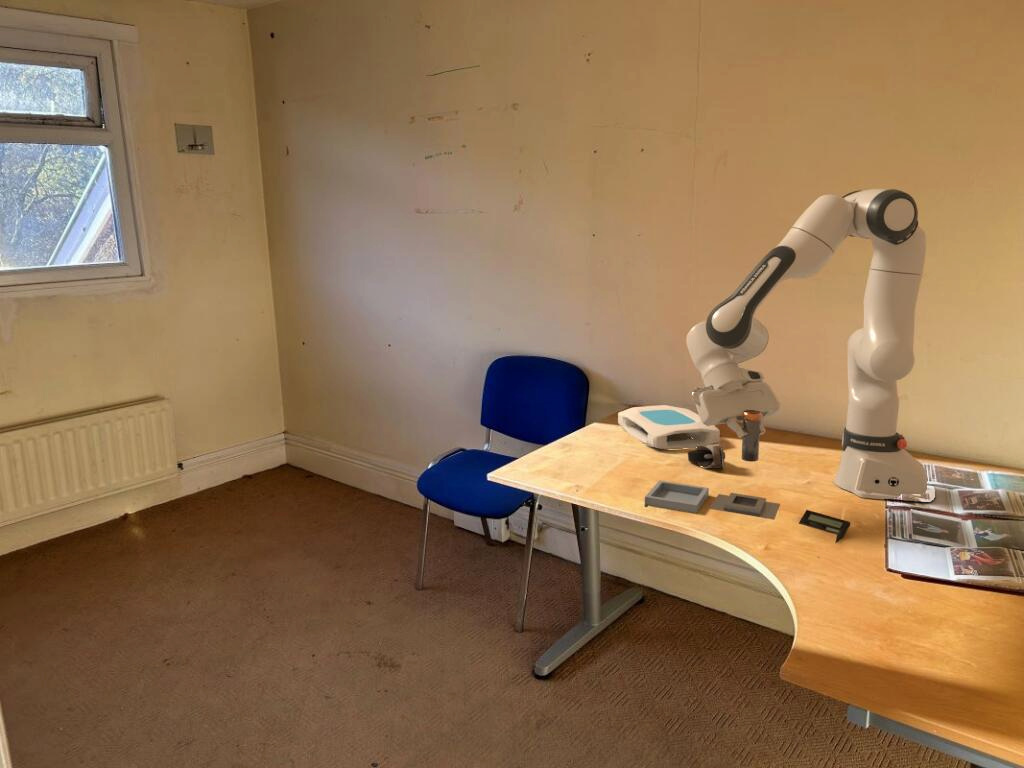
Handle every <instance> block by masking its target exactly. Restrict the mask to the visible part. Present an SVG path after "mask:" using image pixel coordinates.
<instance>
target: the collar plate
mask: <svg viewBox="0 0 1024 768" xmlns="http://www.w3.org/2000/svg"><path fill="white" fill-rule="evenodd" d="M780 506H781V503H777V502H772V501H767V497H760V496H755V495H749V494H748V495H747V494H743V493H742V494H741V493H734V492H730V494H729V495H726V494H720V493H719V494H717V496H716V497H715V499H714V501H713V502H712V504H711V505H710V506H709V510H715V511H720V512H726V513H733V514H737V515H745V516H751V517H754V518H755V517H757V518H763V519H768V520H769V519H770V520H775V517H776V516H777V515H776V514H777V512H778V510H779V507H780Z"/></svg>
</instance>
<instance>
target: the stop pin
mask: <svg viewBox="0 0 1024 768" xmlns="http://www.w3.org/2000/svg"><path fill="white" fill-rule="evenodd" d="M760 420H761V412H760V411H757V410H745V411H743V420H742V421H743V422H742V428H746V431H747V432H748V435H747V436H746V437H744V438H741V440H742V442H741V443H742V444H741V460H743V461H745V462H750V463H751V462H758V461H759V453H760V452H759V450H760Z"/></svg>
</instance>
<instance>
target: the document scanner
mask: <svg viewBox="0 0 1024 768" xmlns="http://www.w3.org/2000/svg"><path fill="white" fill-rule="evenodd" d="M617 416H618V417H617V423H618V424H619V426H620V427H621V429H623V431H624V432H625V433H626V432H627V433H626V434H628V435H629V434H630V435H631V437H632V436H633V437H634V438H633V437H632V438H633V439H635V438H636V439H637V440H636V439H635V440H636V441H638V440H639V441H640V442H642V443H643V444H646V445H647V446H646V445H645V446H646V447H650V448H654V447H655V448H656V449H659V450H663V449H664V450H665V451H669V450H668V449H683V448H694V449H697V448H696V447H697V446H699V445H713V444H718V443H719V442H720V435H721V434H720V433H721V430H720V429H719V428H718V427H717V426H716V425H711V426H706V425H705V424H703V423H702V421H701V419H700V416H699V414H698V413H696V412H694V411H692V410H690V409H688V408H684V407H677V406H673V405H668V404H660V405H646V406H636V407H635V406H634V407H631V408H630V407H629V408H627V409H625V410H622V411H619V412H618V413H617ZM640 429H642V430H640ZM643 430H644V431H643ZM684 433H686V434H687V435H686V434H685V435H686V436H688V435H689V436H690V437H689V436H688V437H689V439H684V440H668V436H669V437H670V436H672V435H675V434H676V435H677V434H684ZM630 435H629V436H630ZM691 437H692V438H693V439H692V438H691ZM639 441H638V442H639ZM640 442H639V443H640ZM642 443H641V444H642ZM643 444H642V445H643ZM683 450H684V449H683Z"/></svg>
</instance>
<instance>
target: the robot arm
mask: <svg viewBox="0 0 1024 768" xmlns="http://www.w3.org/2000/svg"><path fill="white" fill-rule="evenodd" d="M918 218H919V211H918V206H917V202H916V201H915V199H914V198H913V196H912V195H910V194H909V193H907V192H905V191H903V190H900V189H895V188H894V189H893V188H892V189H891V188H890V189H887V188H886V189H885V188H870V189H865V190H855V191H851V192H849V193H846V194H845V195H843V196H840V195H836V194H824V195H821V196H819V197H818V198H817V199H815V200H814V201H813V202H812V203H811V204H810V205H809V206H808V207H807V208H806V209H805V210H804V211H803V213H801V215H800V216H799V217H798V218H797V220H796V221H795V222H794V224H793V225H792V226H791V228H790V229H789V230H788V232H787V233H786V235H785V236H784V237H783V239H782V240H781V241H780V242H779V243H778V244H777V245H776V246H775V247H774V248H772V249H771V250H770V251H768V252H767V253H766V254H765V256H764V257H763V258H761V259H760V261H759V262H758V263H757V264H756V266H755V267H754V268H753V269H752V270H751V271H750V273H749V274H748V275H747V276H746V277H745V278H744V280H743V281H742V282H741V284H739V286H738V287H737V288H736V289H735V290H734V291H733V293H731V295H729V296H728V297H727V298H726V299H724V300H723V301H721V302H720V303H719V304H717V305H716V306H715V307H713V309H712V310H711V311H710V312H709V314H708V316H707V318H706V320H704V321H701V322H698V323H697V324H695V325H694V326H693V327H691V329H690V330H689V331H688V333H687V334H686V339H685V344H686V347H687V350H688V353H689V356H690V358H691V360H692V362H693V364H694V367H695V368H696V370H698V372H700V375H701V379H702V382H703V384H704V386H703V387H695V388H694V390H692V391H691V398H692V400H693V402H694V404H695V406H696V411H697V414H698V415H699V416H700V419H701V421H702V423H703V424H705V425H706V426H711V425H715V426H716V425H722V424H723V425H724V424H726V425H727V427H728V428H729V429H730V430H732V431H733V432H734V433H735V434H736V435H737V437H738V439H742V438H744V437H746V436H747V435H748V432H747V431H746V428H743V426H741V425H740V423H738V422H741V421H743V411H745V410H757V411H760V412H761V420H760V435H764V434H765V433H766V432H767V431H766V428H765V427H764V418H765V417H766V418H768V417H772V416H774V415H775V414H776V413H777V412H778V411H779V410H780V406H781V404H780V402H779V399H778V398H777V395H776V394H775V392H774V391H773V389H772V387H771V386H770V385H769V384H768V383H766V382H765V381H764V380H765V376H764V374H763V373H762V372H760V371H757V370H752V369H751V370H749V369H747V368H743V367H740V366H739V364H741V363H744V362H746V361H748V360H752V359H753V358H755V357H757V356H759V355H760V354H762V353H763V352H764V350H766V348H767V345H768V343H769V338H770V337H769V331H768V329H767V327H766V326H765V325H764V324H763V323H762V322H761V321H759V320H758V318H756V317H755V314H756V312H757V310H758V309H759V307H760V306H761V305H762V304H763V303H764V301H766V299H767V298H768V296H770V294H771V293H772V292H773V291H774V290H775V289H776V287H778V285H780V284H781V283H782V282H783V281H785V280H788V279H789V280H790V279H799V280H800V279H807V278H811V277H813V276H815V275H816V274H818V273H819V272H820V271H821V270H822V269H823V268H824V267H826V265H827V264H828V262H829V261H830V260H831V258H832V257H833V256H834V254H835V253H836V251H837V250H838V248H839V246H840V245H841V243H842V242H844V241H845V240H846V239H847V238H848V237H851V238H852V237H856V238H859V239H865V240H870V241H871V243H872V249H873V252H872V253H873V254H872V258H871V261H870V265H869V266H870V267H869V270H868V271H869V272H868V275H867V281H866V286H865V291H864V296H863V304H862V305H863V327H860V328H858V329H857V330H855V331H853V332H852V333H851V335H850V336H849V338H848V340H847V343H846V348H847V349H846V350H847V351H846V353H847V386H848V388H847V389H848V403H847V414H846V422H845V423H846V424H845V427H844V428H843V432H842V439H841V447H842V448H841V450H842V454H841V456H840V457H841V459H840V461H839V464H838V465H839V466H838V468H837V472H836V474H835V476H834V479H833V482H834V484H835V485H836V486H837V487H839V488H841V489H843V490H845V491H848V492H851V493H853V494H854V495H856V496H857V497H860V498H863V499H875V500H884V499H888V498H895V497H899V496H900V495H901V494H923V493H925V492H926V490H927V482H928V477H927V472H926V469H925V467H924V465H923V464H922V463H921V462H920V461H919V460H918V459H916V458H915V457H914V456H912V455H911V454H910V452H908V451H906V448H907V446H908V442H907V441H906V440H905V437H904V435H903V433H901V434H900V433H898V432H897V427H898V417H899V409H900V398H899V394H898V386H897V385H898V383H897V382H898V381H899V380H902V379H904V378H905V377H906V376H908V375H909V374H910V373H911V371H912V370H913V368H914V364H915V354H914V340H915V315H916V307H917V306H916V305H917V302H918V301H917V300H918V296H919V292H920V287H921V283H922V282H921V281H922V276H923V273H924V267H925V261H926V253H927V251H926V250H927V249H926V247H927V246H926V245H927V235H926V233H925V231H924V229H922V228H921V226H919V221H918ZM760 435H759V436H760Z"/></svg>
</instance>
